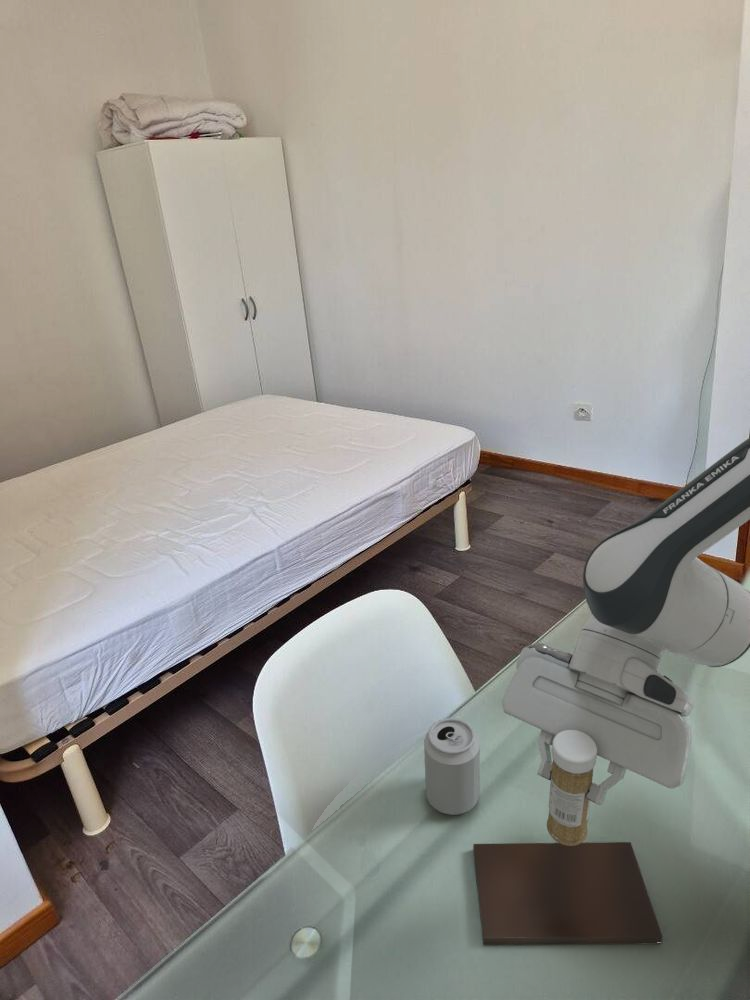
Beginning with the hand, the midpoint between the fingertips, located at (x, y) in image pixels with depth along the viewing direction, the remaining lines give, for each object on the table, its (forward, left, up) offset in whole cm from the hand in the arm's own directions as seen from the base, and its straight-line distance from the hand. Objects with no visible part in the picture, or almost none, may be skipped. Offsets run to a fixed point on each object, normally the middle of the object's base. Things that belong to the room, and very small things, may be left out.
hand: (569, 789), depth 75 cm
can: (+8, -17, -19) cm, 27 cm away
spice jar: (0, -1, -7) cm, 7 cm away
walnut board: (0, 0, -19) cm, 19 cm away
